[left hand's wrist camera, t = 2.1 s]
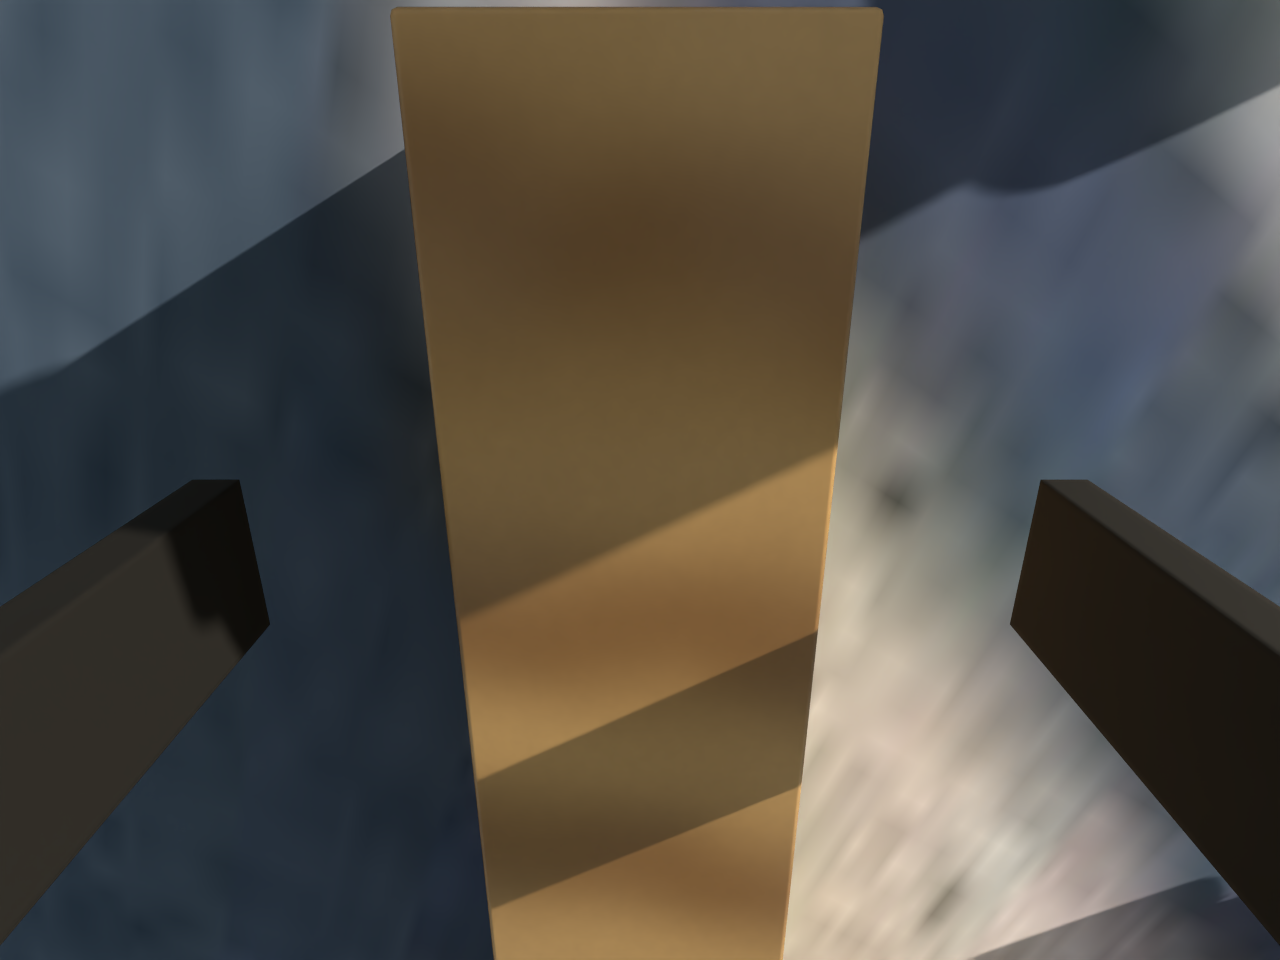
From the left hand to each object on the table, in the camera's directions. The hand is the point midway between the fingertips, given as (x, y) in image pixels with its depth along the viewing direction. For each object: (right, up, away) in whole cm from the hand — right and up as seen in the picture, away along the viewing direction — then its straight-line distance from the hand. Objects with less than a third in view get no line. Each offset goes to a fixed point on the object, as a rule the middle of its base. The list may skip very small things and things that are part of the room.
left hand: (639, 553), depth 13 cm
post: (0, -19, +15) cm, 24 cm away
